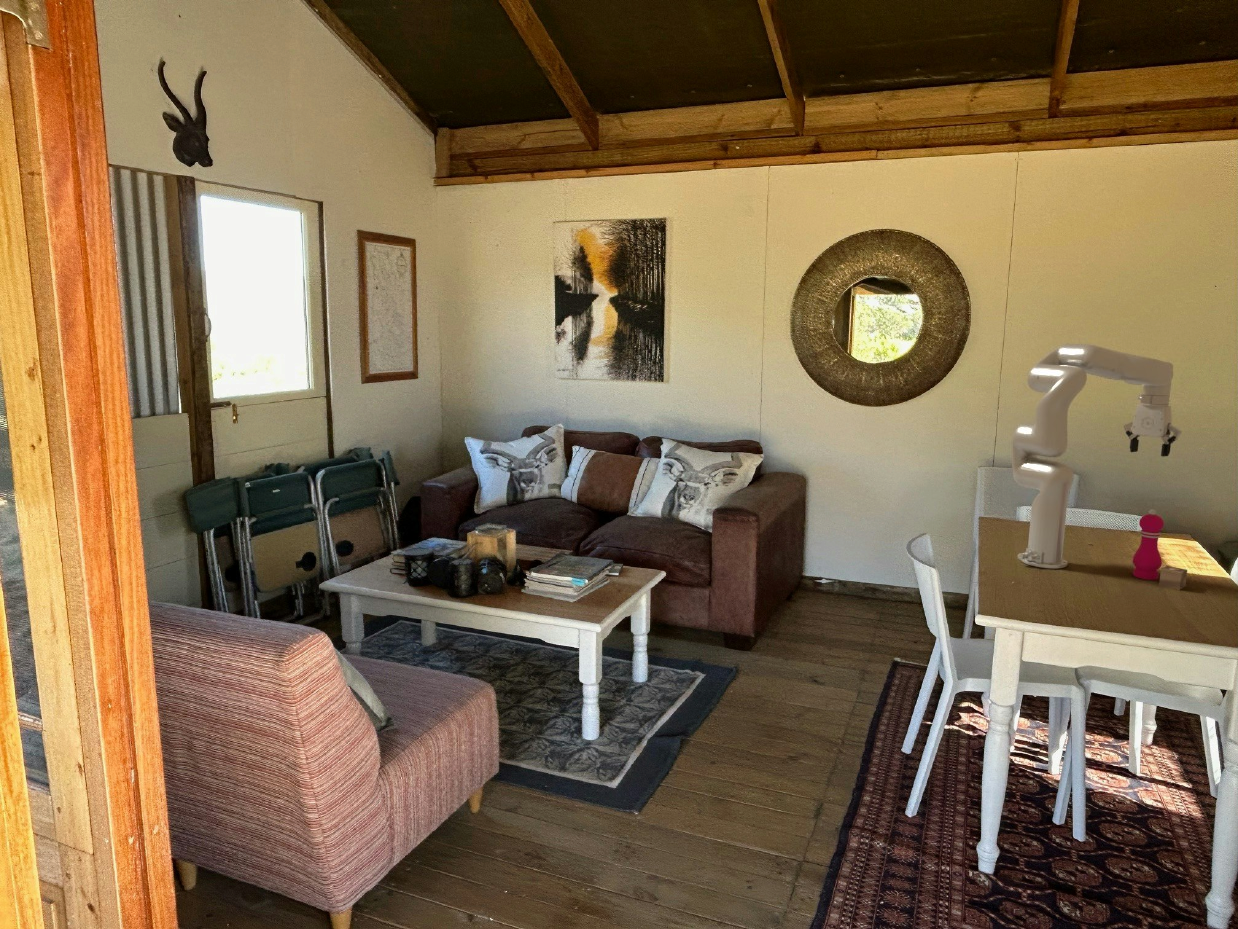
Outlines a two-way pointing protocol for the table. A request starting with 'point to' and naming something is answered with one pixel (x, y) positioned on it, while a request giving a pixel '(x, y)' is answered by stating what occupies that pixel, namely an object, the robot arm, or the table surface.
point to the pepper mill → (1148, 547)
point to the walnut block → (1173, 577)
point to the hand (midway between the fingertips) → (1149, 454)
